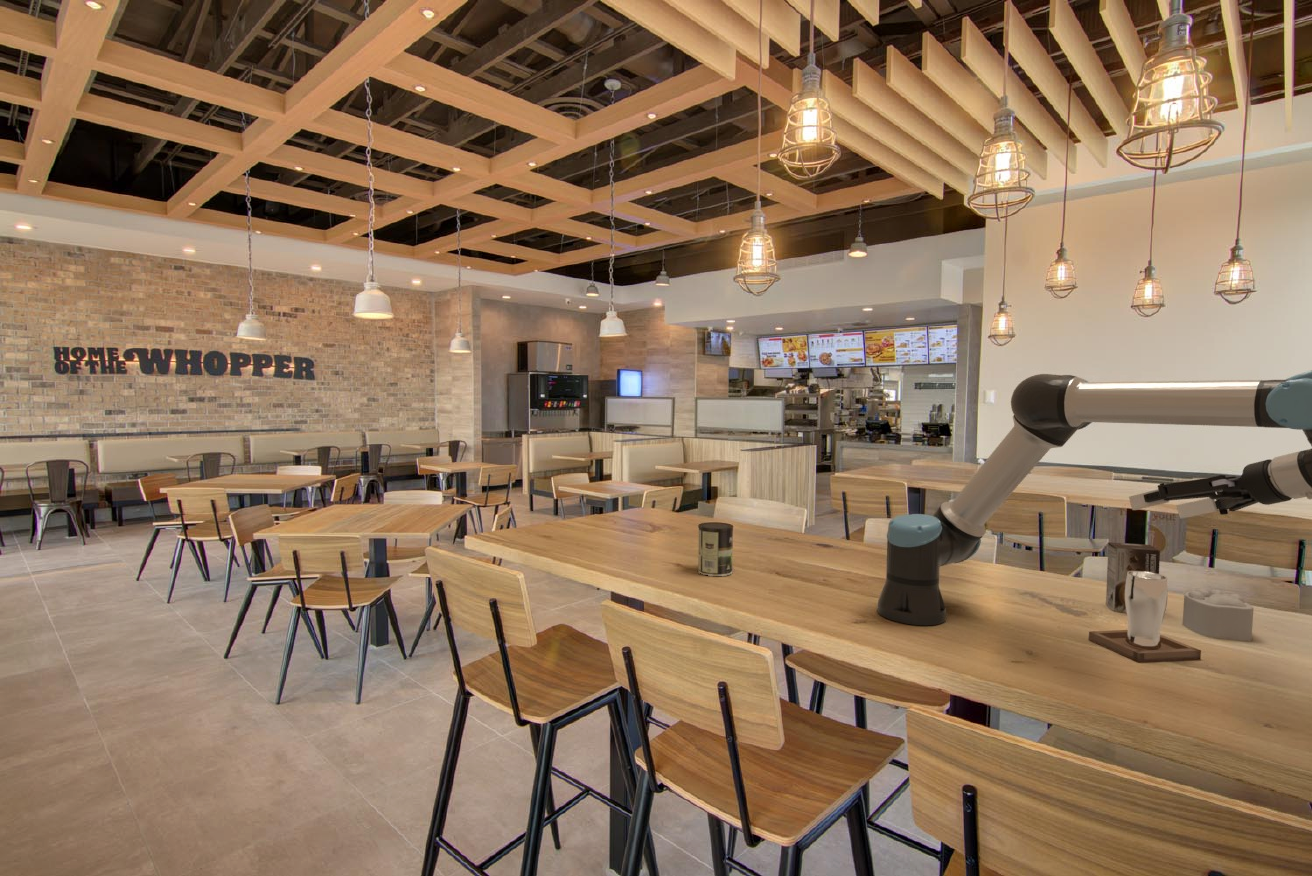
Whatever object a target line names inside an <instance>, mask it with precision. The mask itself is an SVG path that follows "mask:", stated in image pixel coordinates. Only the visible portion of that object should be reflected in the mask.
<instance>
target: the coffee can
mask: <svg viewBox="0 0 1312 876" xmlns="http://www.w3.org/2000/svg"><path fill="white" fill-rule="evenodd" d="M733 537H734V525H733V524H731V523H728V522H721V521H720V522H719V521H718V522H716V521H715V522H714V521H712V522H702V523H698V561H697V562H698V563H697V564H698V566H697V567H698V568H697V569H698V570H697V573H698V574H700V573H701V574H700V575H702V574H703V575H702V576H705V575H708V576H707V577H713V576H722V577H728V576H731V575H732V574H733V551H734V550H733V548H734V547H733V542H734V541H733V540H734V538H733ZM730 574H731V575H730ZM727 575H728V576H727Z"/></svg>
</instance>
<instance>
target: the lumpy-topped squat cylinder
mask: <svg viewBox="0 0 1312 876" xmlns="http://www.w3.org/2000/svg"><path fill="white" fill-rule="evenodd" d="M1182 610H1183V611H1182V626H1184V627H1185V628H1187V629H1188V630H1189V631H1192V632H1193V633H1195V634H1198V635H1200V636H1203V637H1206V638H1210V639H1215V640H1216V639H1217V640H1231V641H1239V642H1251V641H1252V638H1253V623H1254V606H1252V605H1251V604H1250V603H1248V602H1246V601H1245V600H1244V598H1243V597H1242V596H1241V595H1240V594H1238V593H1232V594H1229V595H1226V594H1224V593H1223V592H1222V591H1221V590H1219V589H1217V588H1215V589H1214V588H1213V589H1209V590H1206V589H1205V588H1201V587H1200V588H1196V589H1195V590H1189V591H1186V592H1185V593H1184V596H1183V609H1182Z"/></svg>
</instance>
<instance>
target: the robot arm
mask: <svg viewBox="0 0 1312 876" xmlns="http://www.w3.org/2000/svg"><path fill="white" fill-rule="evenodd" d="M1010 399H1011V400H1010V406H1011V408H1010V409H1011V411H1012V414H1013V416H1012V419H1013V427H1012V428H1011V429H1010V431H1008V433H1007V435H1006V436H1005V437H1004V438H1003V439H1002V440H1001V441H1000V443H999V444H998V445H997V447H996V448H995V449H994V450H993V451H992V452H991V454H990V455H989V457H988V458H986V460H985V461H984V462H983V464H982V465H981V466H980V467H979V469H978V470H977V471H976V473H974V475H973V476H972V477H971V479H970V480H969V481H968V482H967V483H966V485H965V486H964V487H963V488H962V489H961V490H960V492H959V493H958V495H956V497H955V498H954V499H953V500H952V501H944V502H943V503H942V504H940V506H939V507H938V508H937V510H935V512H934V513H933V514H932V515H930V514H924V513H923V514H922V513H912V514H901V515H897V516H895V517H893V518H892V519H891V520H890V521H889V522H888V527H887V532H886V538H887V541H886V542H887V543H886V545H887V546H886V575H885V576H886V577H885V578H886V579H885V582H884V586H883V588H882V591H881V593H880V595H879V598H878V600H877V613H878V614H879V615H880V616H882V617H883V618H885V619H887V620H891V621H893V622H896V623H902V624H906V625H913V626H914V625H915V626H935V625H936V626H937V625H941V624H943V623H945V622H946V620H947V609H946V605H945V602H944V599H943V596H942V592H941V588H940V568H941V567H943V566H948V565H951V564H958V563H962V562H964V561H967V560H968V559H970V558H971V557H973V556H974V555H975V554H976V553H977V552H978V551H979V549H980V547H981V544H982V543H981V542H982V540H981V539H982V538H983V537H984V536H985V534H986V533H987V530H986V527H985V524H986V523H987V522H988V521H989V519H990V518H991V517H992V516H993V515H994V513H996V512H997V510H998V509H999V508H1000V507H1001V506H1002V505H1003V503H1004V502H1005V501H1006V500H1007V499H1008V498H1009V496H1011V495H1012V493H1013V492H1014V491H1015V489H1016V488H1017V487H1018V486H1019V485H1020V484H1021V483H1022V482H1023V481H1024V479H1025V478H1026V477H1027V476H1028V475H1029V474H1030V472H1031V471H1032V470H1033V469H1034V468H1035V466H1036V465H1037V464H1038V463H1039V462H1040V461H1041V460H1042V459H1043V457H1044V456H1046V454H1047V453H1048V452H1049V451H1050V450H1051V449H1054V448H1056V449H1057V448H1063V446H1064V445H1065V444H1066V443H1067V442H1068V441H1069V440H1070V439H1071V438H1072V437H1073V435H1075V433H1076V432H1077V431H1078V430H1082V429H1084V428H1086V427H1088V426H1089V425H1090V424H1093V423H1108V424H1109V423H1110V424H1137V425H1138V424H1140V425H1141V424H1144V425H1175V426H1176V425H1180V426H1181V425H1182V426H1209V427H1210V426H1212V427H1213V426H1216V427H1217V426H1218V427H1219V426H1220V427H1247V428H1249V427H1252V428H1257V427H1258V428H1268V429H1269V428H1270V429H1271V428H1272V429H1273V428H1274V429H1275V428H1276V429H1278V428H1279V429H1291V430H1299V431H1300V430H1302V431H1303V433H1304V436H1305V437H1306V439H1307V442H1308V443H1309V445H1310V446H1311V448H1309V449H1305V450H1299V451H1296V452H1291V453H1288V454H1284V455H1280V456H1275V457H1274V458H1272V459H1265V460H1260V461H1258V462H1253V463H1249V464H1247V465H1246V466H1244V468H1243V470H1242V474H1241V476H1240V477H1237V476H1226V475H1224V474H1219V475H1216V476H1212V477H1211V476H1210V477H1206V478H1199V479H1192V480H1191V479H1190V480H1185V481H1178V482H1171V483H1164V482H1161V483H1159V485H1157V489H1154V490H1151V491H1147V492H1142V493H1139V494H1134V495H1131V496H1128V498H1129V503H1130V507H1131V510H1132V511H1138V510H1142V509H1147V508H1151V507H1154V506H1155V507H1156V506H1159V505H1164V504H1168V503H1170V501H1180V500H1193V499H1198V500H1193V501H1189V502H1186V503H1181V504H1177V505H1176V509H1177V512H1178V516H1179V519H1181V520H1182V519H1187V518H1191V517H1197V516H1202V515H1206V514H1211V513H1216V512H1218V511H1219V515H1228V514H1229V513H1228V512H1235V511H1238V510H1241V509H1245V508H1246V507H1250V506H1252V505H1255V504H1258V503H1259V504H1262V505H1267V506H1269V505H1274V504H1279V503H1284V502H1288V501H1289V502H1290V501H1292V499H1293V500H1295V499H1296V500H1297V499H1298V500H1299V499H1303V498H1306V499H1308V500H1312V370H1311V369H1310V370H1308V371H1307V370H1306V371H1304V372H1301V373H1298V374H1295V375H1293V376H1290V377H1287V378H1285V379H1267V380H1263V379H1252V380H1251V379H1246V380H1245V379H1243V380H1242V379H1241V380H1240V379H1239V380H1238V379H1236V380H1234V379H1233V380H1232V379H1231V380H1224V379H1223V380H1172V381H1171V380H1169V381H1167V380H1164V381H1163V380H1162V381H1156V380H1155V381H1153V380H1152V381H1101V382H1100V381H1096V382H1095V381H1091V382H1090V381H1089V380H1086V379H1084V378H1081V377H1079V376H1076V375H1072V374H1062V375H1060V374H1051V373H1041V374H1034V375H1032V376H1029V377H1027V378H1025V379H1023V380H1022V381H1021V382H1020V383H1019V384H1017V386H1016V387H1015V388H1014V390H1013V392H1012V395H1011V398H1010ZM1203 498H1204V499H1203ZM1228 510H1229V511H1228Z"/></svg>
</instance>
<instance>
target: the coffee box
mask: <svg viewBox="0 0 1312 876" xmlns="http://www.w3.org/2000/svg"><path fill="white" fill-rule="evenodd" d="M1107 546H1108V548H1107V564H1106V565H1107V566H1106V567H1107V568H1106V571H1107V572H1106V589H1105V590H1106V592H1105V593H1106V594H1105V605H1106V606H1107V607H1108V608H1109V609H1111V610H1112V611H1113V612H1115V613H1116V612H1117V613H1125V614H1127V612H1126V605H1125V585H1126V578H1127V572H1128V571H1144V572H1151V573H1156V574H1160V563H1161V561H1160V558H1161V556H1160V555H1161V550H1160V549H1158V548H1157V547H1155V546H1153V545H1151V544H1142V543H1141V544H1140V543H1127V542H1126V543H1124V542H1109V541H1108V543H1107Z"/></svg>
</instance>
